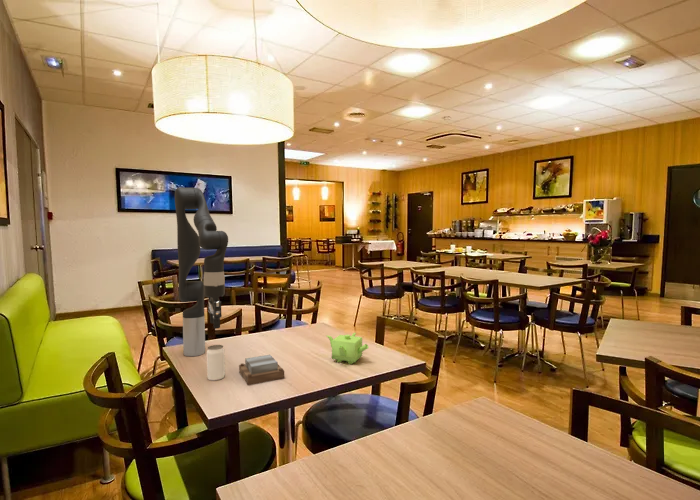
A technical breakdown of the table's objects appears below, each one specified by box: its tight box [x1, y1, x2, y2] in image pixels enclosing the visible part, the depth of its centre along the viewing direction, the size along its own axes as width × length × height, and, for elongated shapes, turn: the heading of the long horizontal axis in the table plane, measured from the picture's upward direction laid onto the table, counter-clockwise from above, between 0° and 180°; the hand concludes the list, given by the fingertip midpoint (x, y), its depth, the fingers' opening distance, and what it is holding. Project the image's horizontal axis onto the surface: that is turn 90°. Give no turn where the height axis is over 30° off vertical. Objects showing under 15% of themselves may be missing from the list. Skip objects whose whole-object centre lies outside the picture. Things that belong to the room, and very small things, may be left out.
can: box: [206, 344, 226, 382], centre depth 147 cm, size 6×6×12 cm
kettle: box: [325, 332, 369, 365], centre depth 167 cm, size 15×14×11 cm
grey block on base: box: [238, 354, 285, 386], centre depth 150 cm, size 14×14×6 cm
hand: (215, 325), depth 146 cm, fingers open, 8 cm apart
